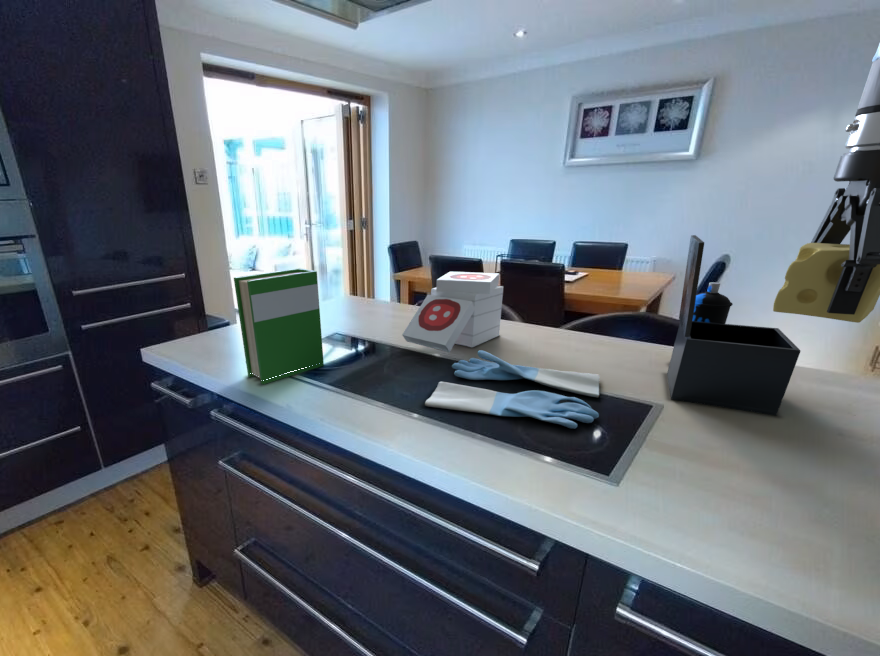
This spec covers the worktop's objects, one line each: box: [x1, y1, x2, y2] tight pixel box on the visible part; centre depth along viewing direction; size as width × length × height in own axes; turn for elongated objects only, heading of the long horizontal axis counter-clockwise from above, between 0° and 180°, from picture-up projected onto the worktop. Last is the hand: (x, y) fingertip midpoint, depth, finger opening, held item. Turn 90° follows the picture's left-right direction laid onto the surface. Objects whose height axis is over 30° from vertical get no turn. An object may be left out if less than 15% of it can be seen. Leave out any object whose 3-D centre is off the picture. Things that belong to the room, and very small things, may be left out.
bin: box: [666, 321, 802, 416], centre depth 89 cm, size 17×16×13 cm
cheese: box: [772, 242, 880, 324], centre depth 67 cm, size 10×11×10 cm
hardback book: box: [233, 267, 325, 385], centre depth 106 cm, size 18×7×24 cm, turn 131°
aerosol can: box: [692, 281, 733, 324], centre depth 101 cm, size 8×8×20 cm
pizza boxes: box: [401, 271, 504, 353], centre depth 126 cm, size 19×30×18 cm, turn 135°
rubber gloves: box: [424, 349, 601, 430], centre depth 93 cm, size 27×33×6 cm
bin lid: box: [678, 234, 705, 337], centre depth 88 cm, size 17×16×1 cm
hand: (823, 303), depth 68 cm, fingers closed on cheese, 13 cm apart
